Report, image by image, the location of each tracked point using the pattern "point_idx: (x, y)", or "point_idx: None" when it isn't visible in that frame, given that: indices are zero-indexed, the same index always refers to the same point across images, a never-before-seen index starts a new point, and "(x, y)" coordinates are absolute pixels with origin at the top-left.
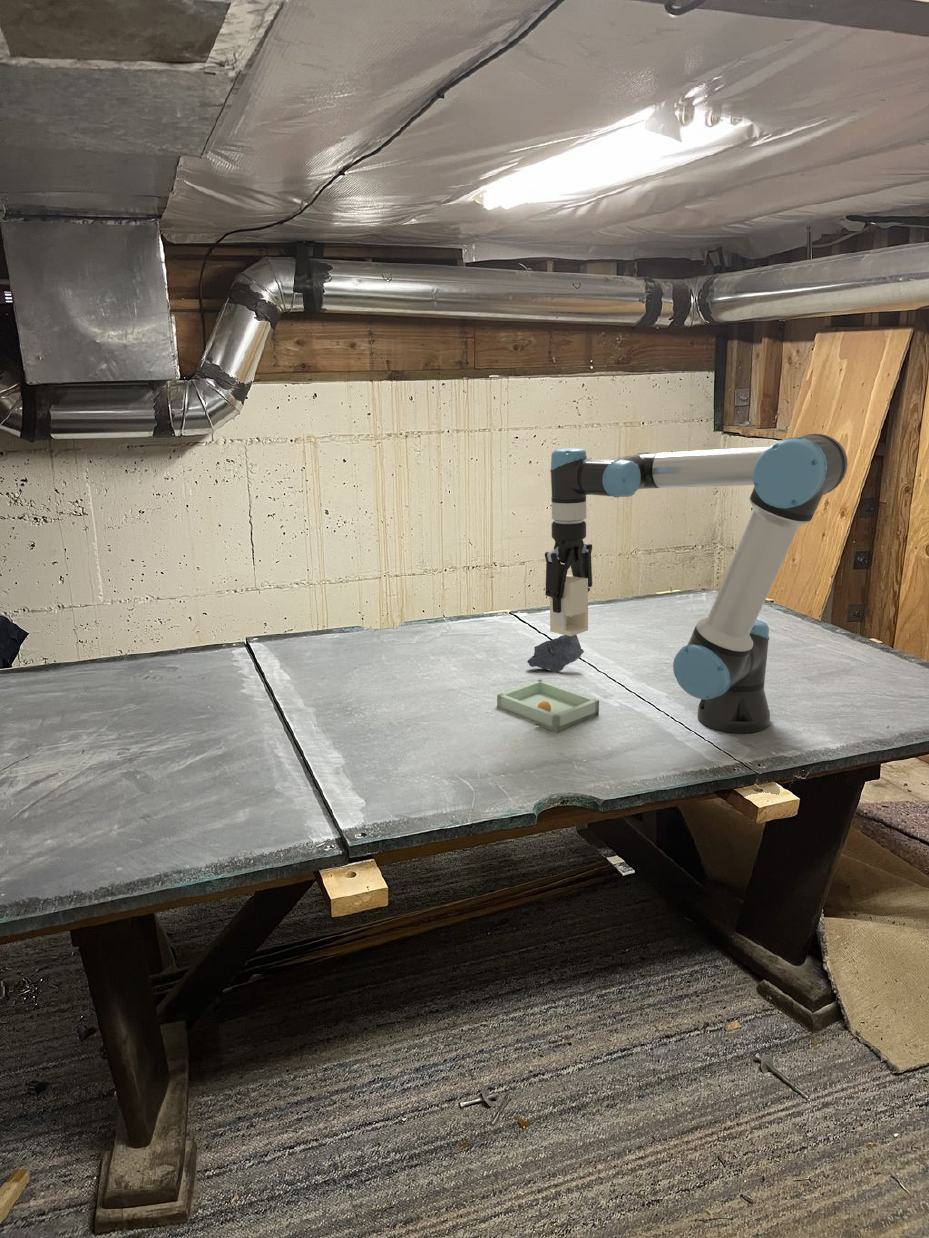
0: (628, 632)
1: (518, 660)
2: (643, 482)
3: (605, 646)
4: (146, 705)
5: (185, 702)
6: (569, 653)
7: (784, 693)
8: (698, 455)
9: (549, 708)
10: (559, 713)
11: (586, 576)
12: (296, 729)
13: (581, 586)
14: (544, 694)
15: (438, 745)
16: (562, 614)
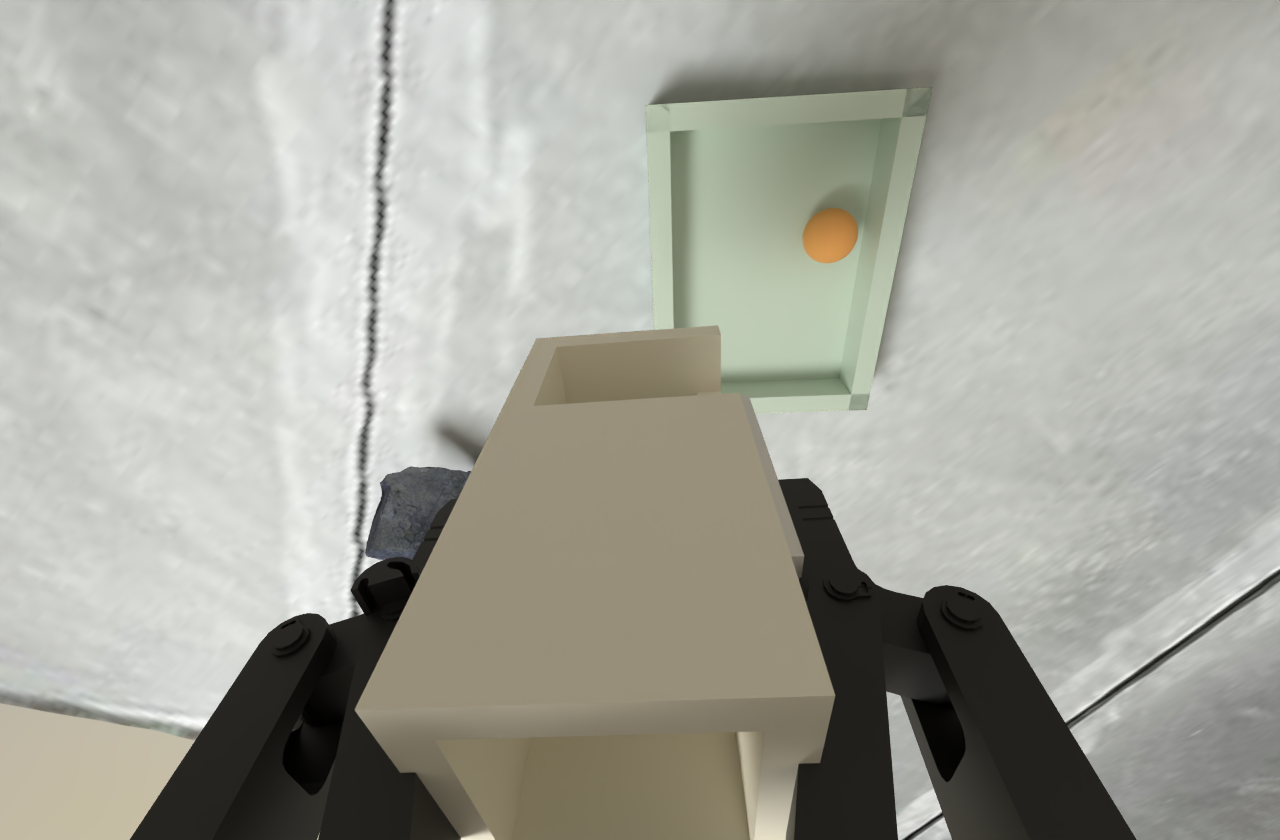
0: (102, 557)
1: None
2: None
3: (232, 525)
4: (1236, 780)
5: (1192, 761)
6: (439, 494)
7: None
8: None
9: (833, 209)
10: (885, 112)
11: (278, 771)
12: (1247, 583)
13: (550, 607)
14: None
15: (1210, 295)
16: (766, 457)
